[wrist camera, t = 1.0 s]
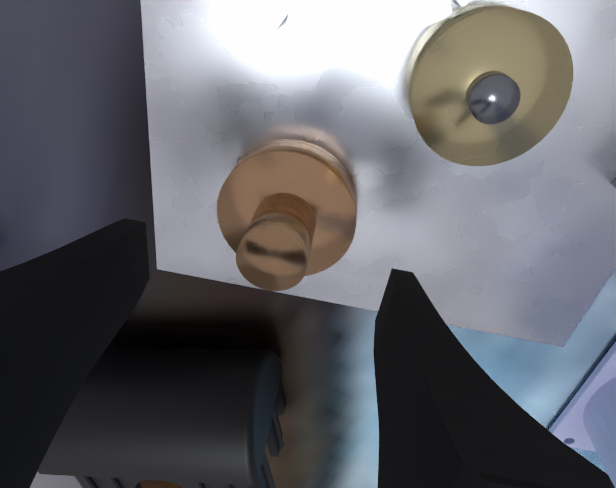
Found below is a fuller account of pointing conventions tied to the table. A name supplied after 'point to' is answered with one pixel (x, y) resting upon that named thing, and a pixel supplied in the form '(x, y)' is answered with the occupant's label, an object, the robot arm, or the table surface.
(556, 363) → the table surface
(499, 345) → the table surface
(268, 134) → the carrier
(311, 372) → the table surface
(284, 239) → the gear
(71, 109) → the table surface
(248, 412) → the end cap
